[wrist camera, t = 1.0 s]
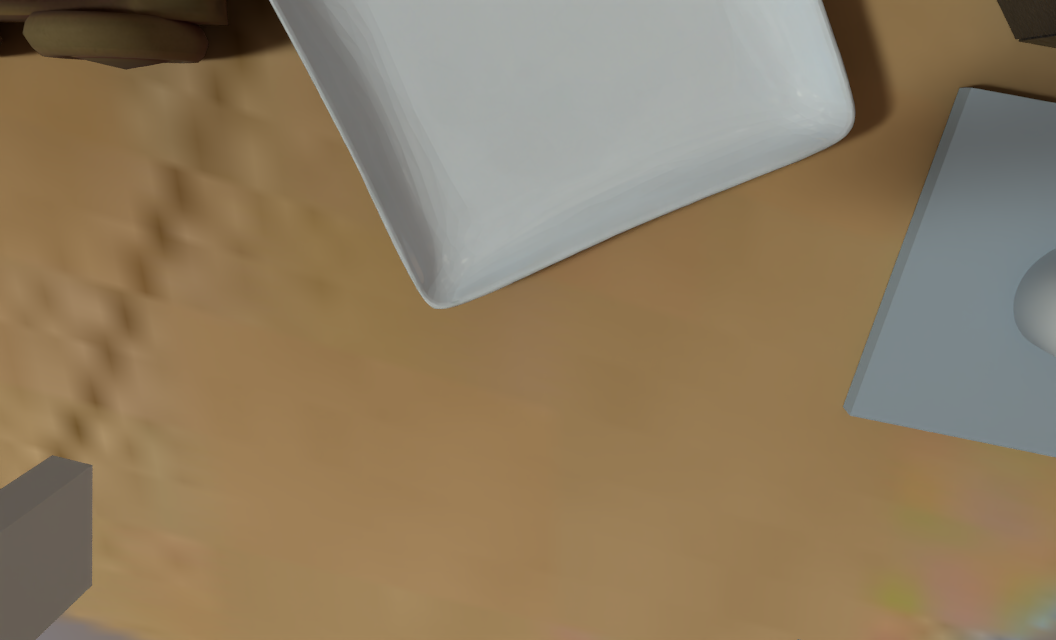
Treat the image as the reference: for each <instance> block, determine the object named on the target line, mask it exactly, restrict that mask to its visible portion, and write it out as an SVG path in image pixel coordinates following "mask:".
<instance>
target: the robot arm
mask: <svg viewBox="0 0 1056 640" xmlns="http://www.w3.org/2000/svg"><path fill="white" fill-rule="evenodd" d="M91 586H92V465H89V464H85V463H81V462H77V461H73V460H69V459H65V458H61V457H57V456H53V455H52V456H50V457H49V458H47V459H46V460H44V461H43V462H41V463H40V464H38V465H37V466H35V467H34V468H32V469H31V470H29V471H28V472H26V473H25V474H23V475H22V476H20V477H18V478H17V479H15V480H14V481H12V482H11V483H9V484H8V485H6V486H5V487H3V488H2V489H0V640H36V638H38V637H39V636H40V635H41V634H42V633H43V632H44V631H45V630H46V629H47V628H48V627H49V626H50V625H51V624H52V623H53V622H54V621H55V620H56V619H57V618H58V617H59V616H61V615H62V614H63V613H64V612H65V611H66V610H67V609H68V608H69V607H70V606H71V605H72V604H73V603H74V602H75V601H76V600H77V599H78V598H79V597H80V596H81V595H82V594H83V593H84V592H85V591H86V590H87V589H89V588H90V587H91ZM797 640H799V639H797Z"/></svg>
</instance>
